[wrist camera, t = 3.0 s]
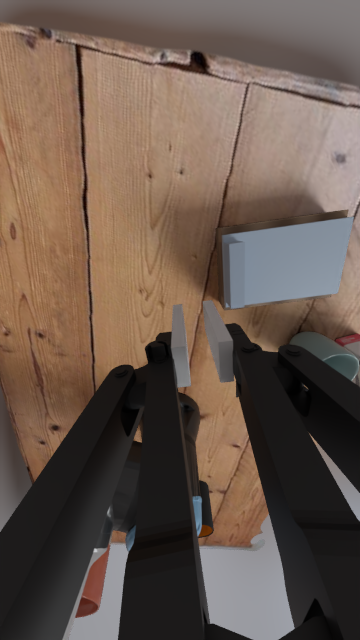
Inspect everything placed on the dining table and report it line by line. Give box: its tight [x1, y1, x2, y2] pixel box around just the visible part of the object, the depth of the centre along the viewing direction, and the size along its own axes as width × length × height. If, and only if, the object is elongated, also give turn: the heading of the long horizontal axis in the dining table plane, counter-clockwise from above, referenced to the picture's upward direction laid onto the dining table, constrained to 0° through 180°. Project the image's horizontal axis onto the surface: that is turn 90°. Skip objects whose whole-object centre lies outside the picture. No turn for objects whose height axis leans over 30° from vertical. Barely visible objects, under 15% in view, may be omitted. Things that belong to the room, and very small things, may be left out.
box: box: [216, 210, 348, 310], centre depth 32 cm, size 18×13×4 cm
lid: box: [222, 217, 354, 309], centre depth 28 cm, size 18×11×4 cm, turn 97°
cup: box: [289, 331, 359, 381], centre depth 37 cm, size 8×8×10 cm
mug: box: [198, 481, 214, 538], centre depth 60 cm, size 8×12×10 cm
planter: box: [75, 531, 113, 618], centre depth 55 cm, size 20×20×21 cm
